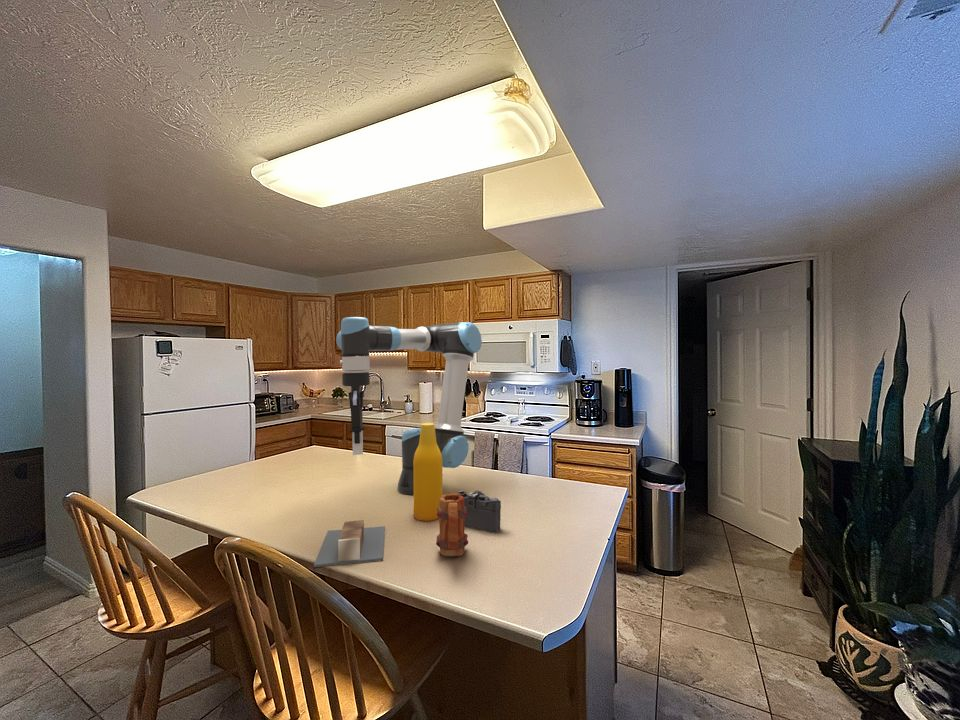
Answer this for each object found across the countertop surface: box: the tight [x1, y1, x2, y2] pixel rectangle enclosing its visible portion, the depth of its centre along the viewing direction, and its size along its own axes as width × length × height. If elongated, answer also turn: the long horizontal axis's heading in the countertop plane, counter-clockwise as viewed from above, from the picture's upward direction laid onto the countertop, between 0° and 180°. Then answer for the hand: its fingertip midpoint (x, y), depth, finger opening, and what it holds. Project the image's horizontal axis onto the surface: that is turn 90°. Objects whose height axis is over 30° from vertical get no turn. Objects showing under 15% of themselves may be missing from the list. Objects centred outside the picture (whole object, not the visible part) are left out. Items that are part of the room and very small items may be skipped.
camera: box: [456, 489, 502, 533], centre depth 123 cm, size 14×11×10 cm
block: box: [338, 519, 365, 562], centre depth 105 cm, size 5×5×12 cm
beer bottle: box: [412, 422, 444, 522], centre depth 129 cm, size 9×9×29 cm
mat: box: [313, 525, 386, 568], centre depth 109 cm, size 16×20×1 cm
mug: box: [435, 492, 469, 558], centre depth 102 cm, size 15×8×15 cm, turn 5°
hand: (357, 454), depth 117 cm, fingers closed
